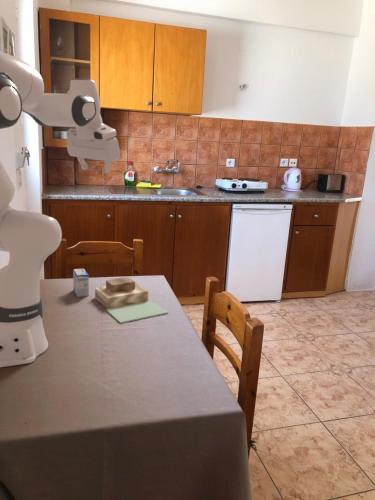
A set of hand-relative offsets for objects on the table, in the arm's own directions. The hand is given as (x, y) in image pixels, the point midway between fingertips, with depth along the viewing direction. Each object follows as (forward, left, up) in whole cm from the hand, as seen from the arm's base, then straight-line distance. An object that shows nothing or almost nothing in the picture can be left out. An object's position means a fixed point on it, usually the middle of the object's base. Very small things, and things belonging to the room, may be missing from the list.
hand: (95, 170), depth 143 cm
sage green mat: (+7, -19, -47) cm, 51 cm away
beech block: (+7, -6, -47) cm, 48 cm away
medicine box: (-4, +7, -47) cm, 48 cm away
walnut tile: (+7, -5, -43) cm, 44 cm away
